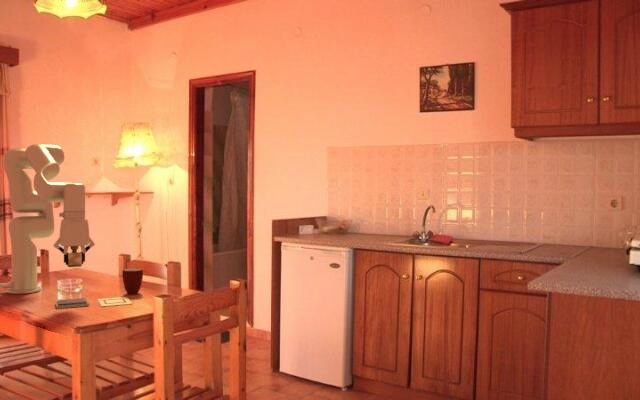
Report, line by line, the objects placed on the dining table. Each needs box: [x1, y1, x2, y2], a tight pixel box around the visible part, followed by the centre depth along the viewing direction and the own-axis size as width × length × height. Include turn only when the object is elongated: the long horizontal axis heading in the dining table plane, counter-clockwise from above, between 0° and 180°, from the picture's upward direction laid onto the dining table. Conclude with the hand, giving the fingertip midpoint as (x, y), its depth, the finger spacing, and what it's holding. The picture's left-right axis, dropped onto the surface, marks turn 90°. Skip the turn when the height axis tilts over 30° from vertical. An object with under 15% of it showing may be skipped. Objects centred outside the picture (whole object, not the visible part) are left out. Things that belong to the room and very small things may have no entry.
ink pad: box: [54, 297, 90, 310], centre depth 211 cm, size 11×9×2 cm
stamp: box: [67, 246, 83, 268], centre depth 212 cm, size 4×4×9 cm
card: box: [97, 296, 133, 308], centre depth 217 cm, size 11×14×1 cm
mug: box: [121, 267, 144, 295], centre depth 235 cm, size 10×8×10 cm
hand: (74, 263), depth 212 cm, fingers closed on stamp, 4 cm apart
